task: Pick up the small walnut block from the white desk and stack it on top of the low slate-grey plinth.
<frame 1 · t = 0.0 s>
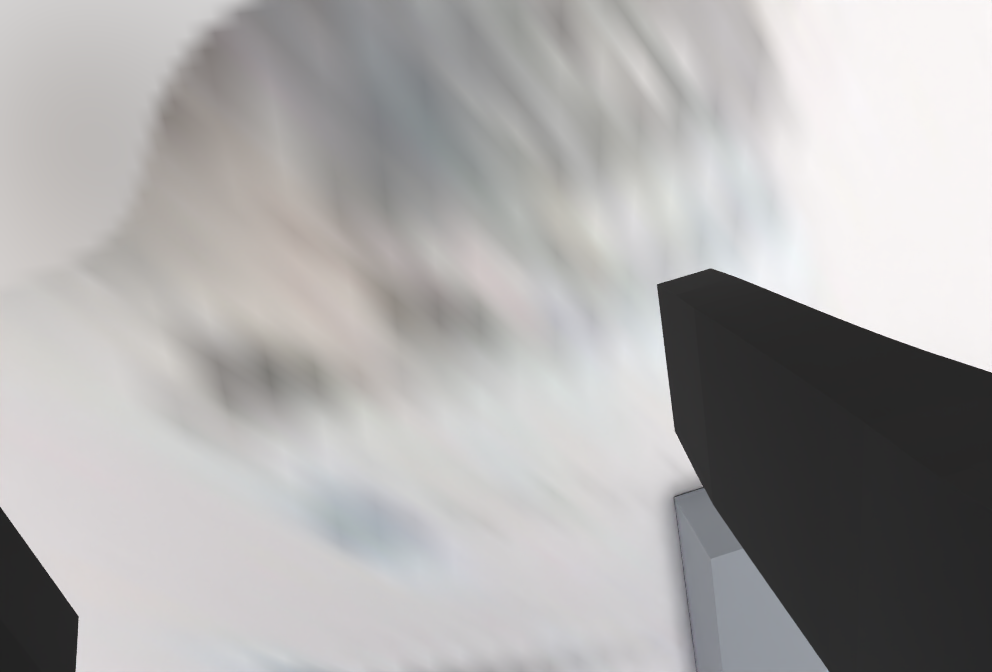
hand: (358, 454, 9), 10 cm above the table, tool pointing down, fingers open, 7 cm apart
plinth: (819, 556, 28), on the table
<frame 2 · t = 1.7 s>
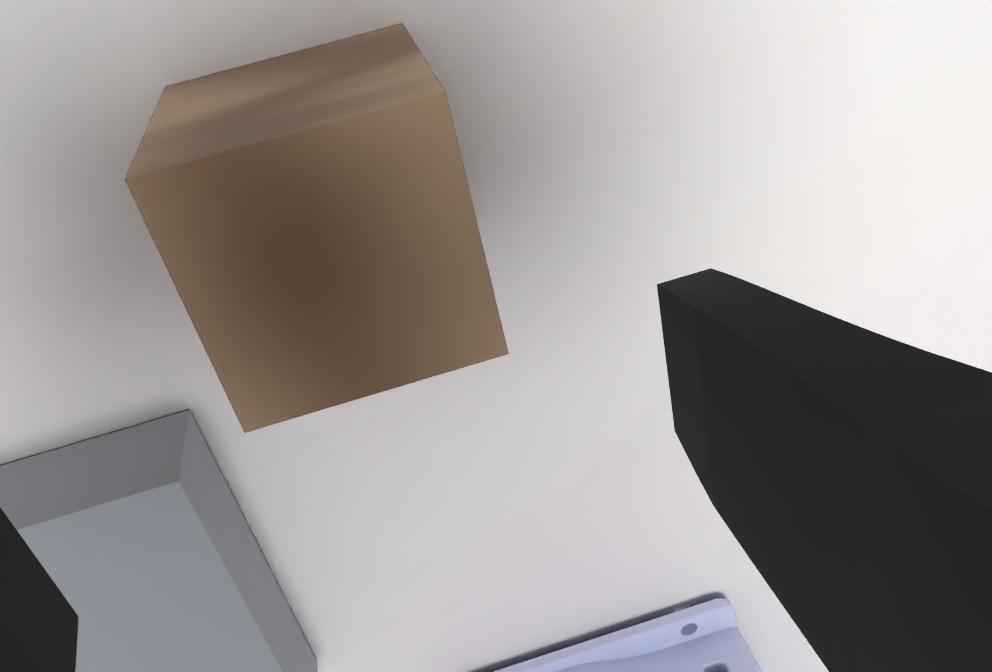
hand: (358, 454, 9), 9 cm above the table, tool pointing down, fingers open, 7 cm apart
plinth: (82, 604, 21), on the table
block: (322, 166, 17), on the table
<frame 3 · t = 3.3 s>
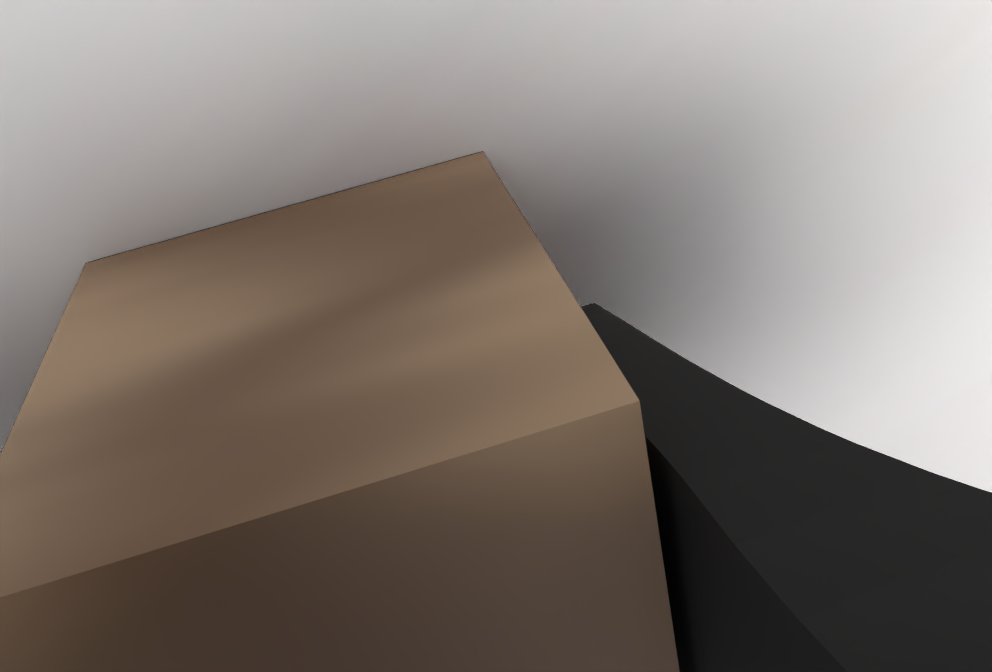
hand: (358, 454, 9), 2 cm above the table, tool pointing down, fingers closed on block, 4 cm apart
block: (347, 369, 11), on the table, touching gripper
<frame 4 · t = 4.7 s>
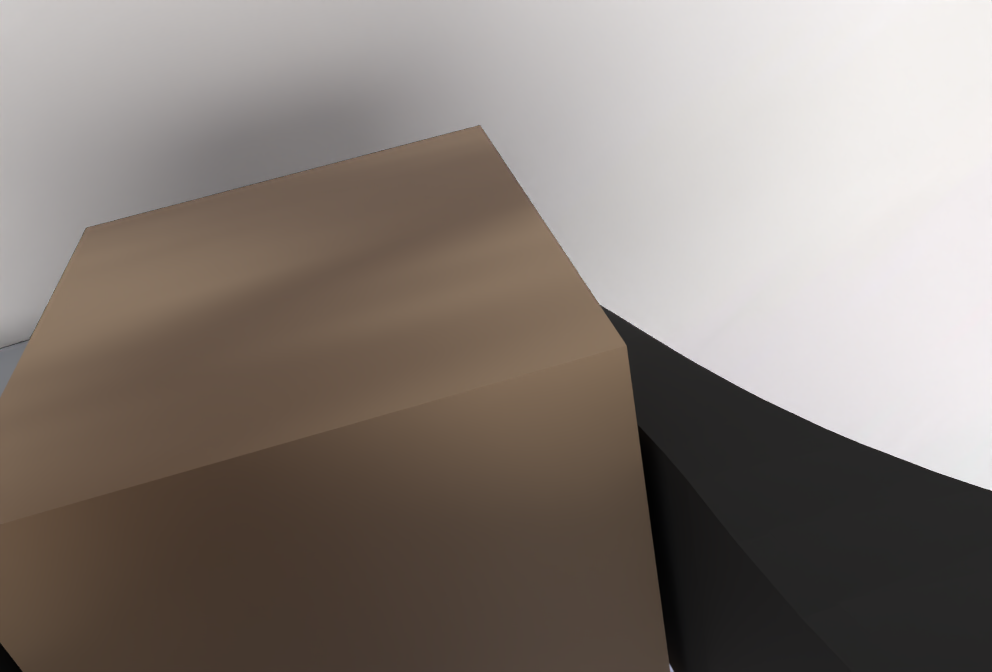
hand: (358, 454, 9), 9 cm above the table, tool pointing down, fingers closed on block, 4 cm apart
plinth: (144, 497, 20), on the table
block: (343, 341, 11), point 7 cm above the table, touching gripper
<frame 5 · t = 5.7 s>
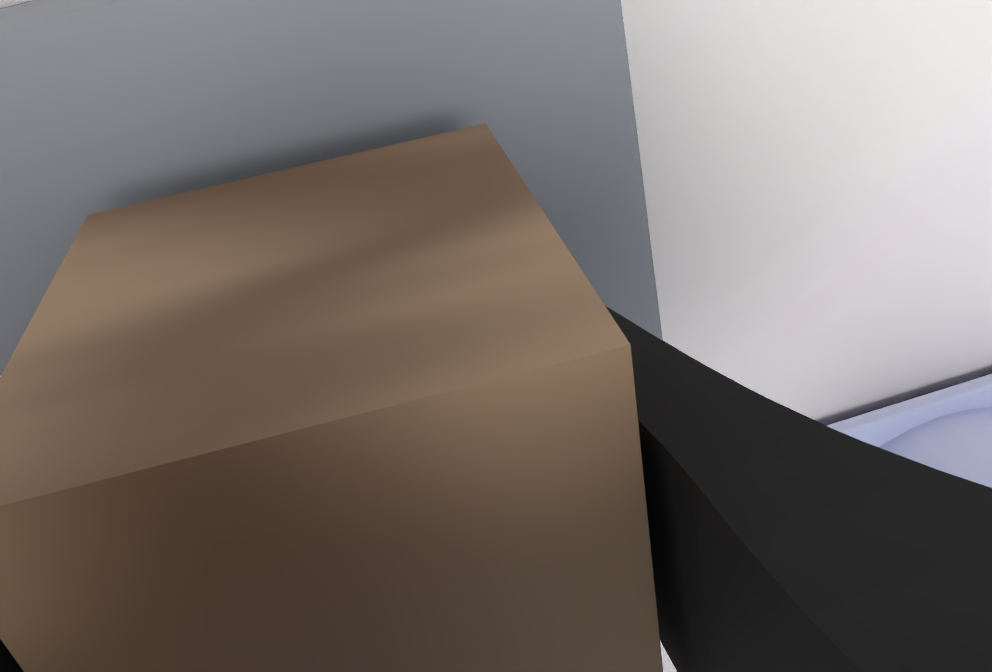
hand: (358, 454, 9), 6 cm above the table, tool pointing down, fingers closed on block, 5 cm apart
plinth: (333, 240, 14), on the table
block: (342, 336, 11), point 4 cm above the table, touching gripper
when the fingers open (5 cm above the table, at t = 6.3 s): block stays where it is, resting on plinth.
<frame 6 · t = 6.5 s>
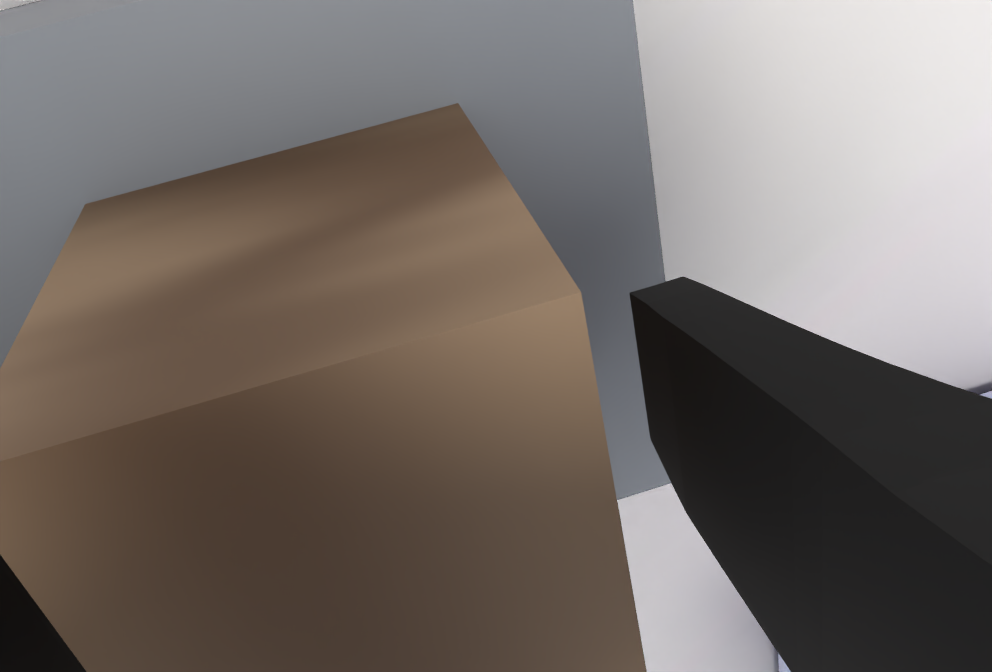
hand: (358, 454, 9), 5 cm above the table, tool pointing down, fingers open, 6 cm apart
plinth: (333, 253, 14), on the table
block: (332, 312, 11), point 2 cm above the table, touching plinth
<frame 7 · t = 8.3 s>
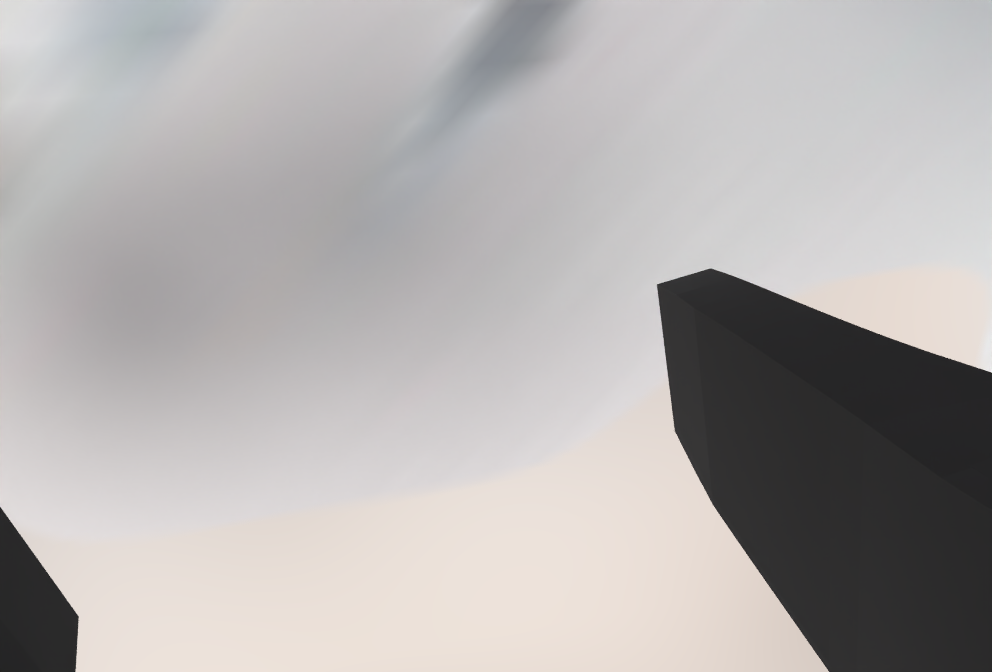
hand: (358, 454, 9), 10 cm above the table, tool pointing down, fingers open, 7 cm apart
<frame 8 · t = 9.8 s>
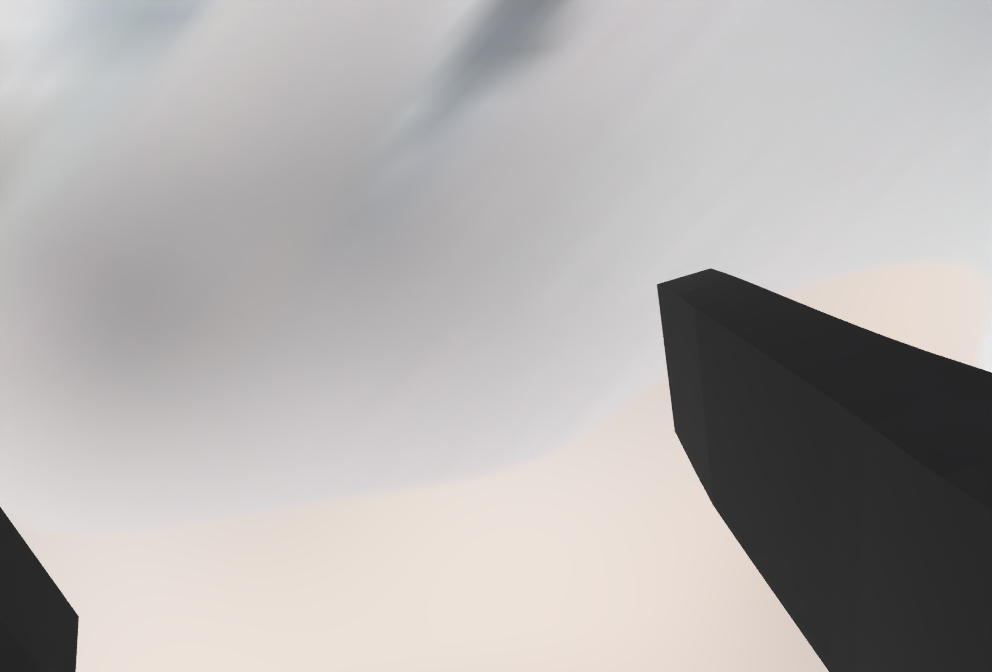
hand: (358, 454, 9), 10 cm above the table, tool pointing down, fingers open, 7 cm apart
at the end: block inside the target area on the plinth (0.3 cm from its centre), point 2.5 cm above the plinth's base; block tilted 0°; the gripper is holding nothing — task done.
